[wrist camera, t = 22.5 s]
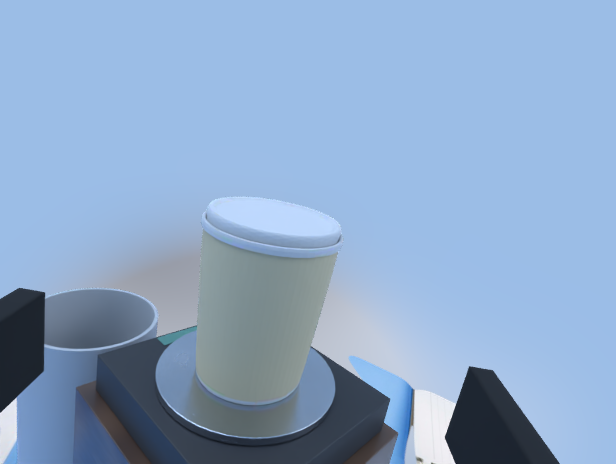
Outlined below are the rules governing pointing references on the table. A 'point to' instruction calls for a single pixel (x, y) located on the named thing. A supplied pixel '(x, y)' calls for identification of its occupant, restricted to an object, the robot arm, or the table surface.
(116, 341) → the cylinder vase
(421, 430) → the table surface
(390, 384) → the table surface
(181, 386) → the scale pan
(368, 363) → the table surface
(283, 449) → the scale
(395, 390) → the table surface
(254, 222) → the coffee cup
